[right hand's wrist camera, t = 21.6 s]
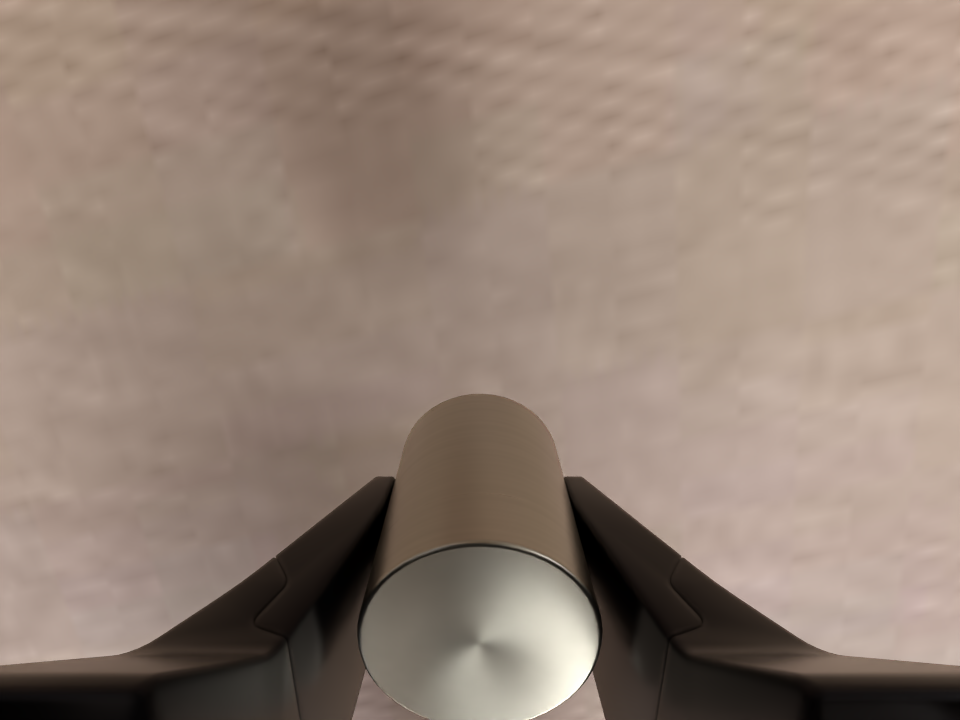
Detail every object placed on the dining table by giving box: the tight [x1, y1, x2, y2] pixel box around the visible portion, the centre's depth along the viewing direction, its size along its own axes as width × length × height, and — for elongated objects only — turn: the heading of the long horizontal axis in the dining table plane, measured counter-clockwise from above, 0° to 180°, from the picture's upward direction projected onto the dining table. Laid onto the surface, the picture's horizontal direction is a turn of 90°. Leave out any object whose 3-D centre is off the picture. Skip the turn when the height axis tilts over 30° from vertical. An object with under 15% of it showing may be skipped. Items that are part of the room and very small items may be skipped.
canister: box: [357, 394, 603, 720], centre depth 10 cm, size 4×4×5 cm
